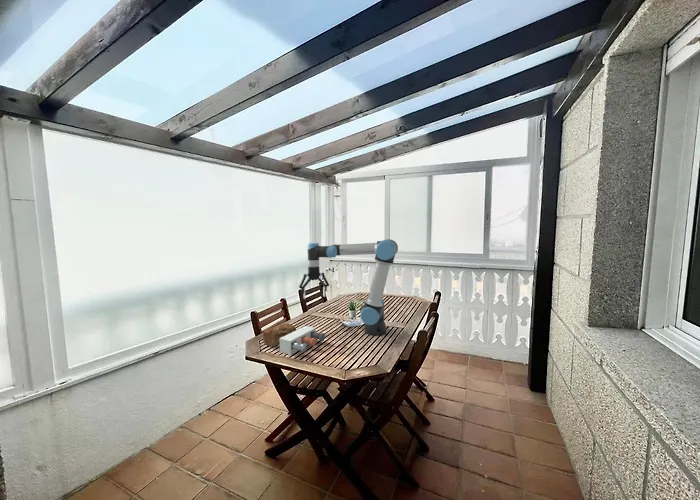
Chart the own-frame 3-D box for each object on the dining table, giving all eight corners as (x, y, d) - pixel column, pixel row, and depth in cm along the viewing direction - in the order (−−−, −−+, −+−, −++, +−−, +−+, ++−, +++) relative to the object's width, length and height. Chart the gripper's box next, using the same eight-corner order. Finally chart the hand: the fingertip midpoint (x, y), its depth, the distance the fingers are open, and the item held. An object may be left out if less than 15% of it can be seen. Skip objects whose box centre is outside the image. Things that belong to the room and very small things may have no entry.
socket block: (315, 340, 183) (315, 327, 182) (290, 354, 162) (290, 341, 161) (305, 337, 187) (305, 325, 186) (279, 351, 166) (279, 338, 165)
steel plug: (307, 350, 162) (307, 342, 162) (301, 353, 158) (301, 345, 158) (291, 346, 168) (291, 338, 168) (286, 349, 164) (286, 341, 164)
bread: (271, 348, 171) (271, 332, 170) (262, 343, 178) (261, 327, 178) (297, 339, 185) (296, 324, 184) (287, 335, 192) (287, 320, 191)
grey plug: (325, 339, 178) (325, 332, 178) (320, 342, 174) (320, 334, 174) (310, 336, 184) (310, 329, 183) (306, 338, 180) (306, 331, 179)
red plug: (316, 344, 170) (316, 337, 170) (311, 347, 166) (311, 339, 166) (301, 341, 176) (301, 333, 175) (296, 343, 172) (296, 336, 171)
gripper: (330, 264, 200) (330, 294, 201) (294, 266, 191) (295, 298, 193) (333, 265, 193) (333, 296, 194) (296, 268, 184) (297, 300, 186)
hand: (314, 297), depth 194 cm, fingers open, 13 cm apart
